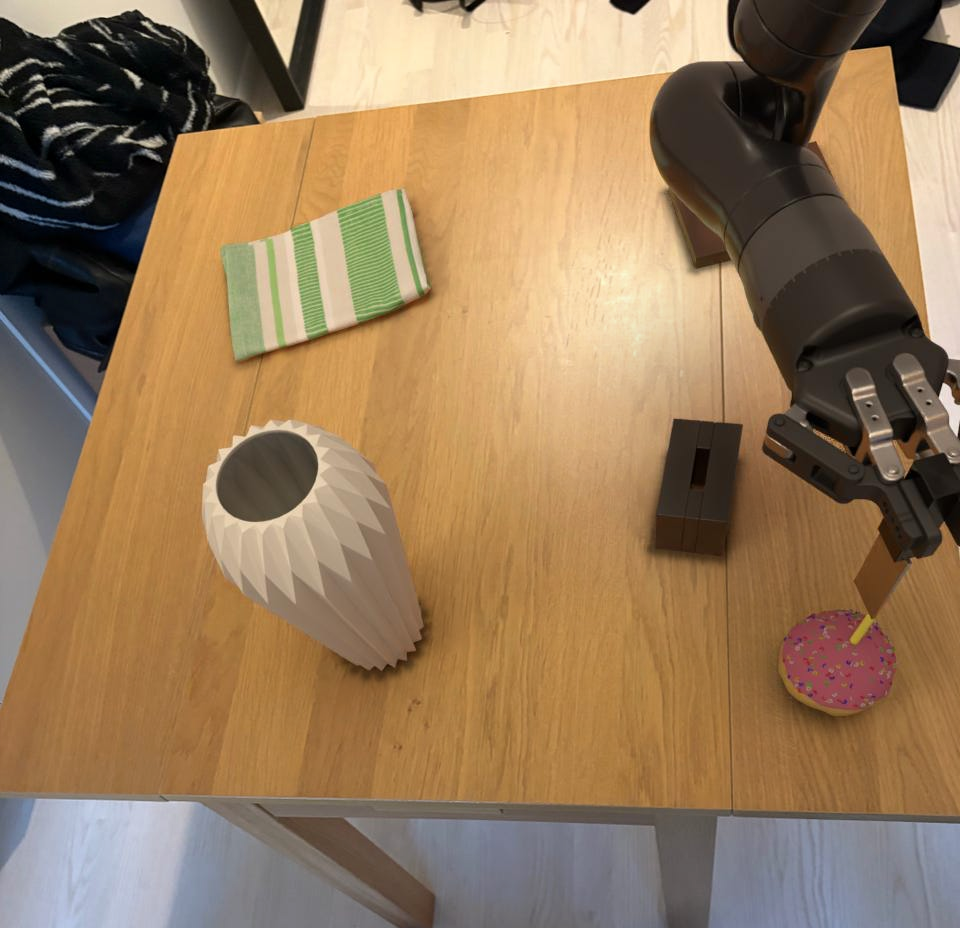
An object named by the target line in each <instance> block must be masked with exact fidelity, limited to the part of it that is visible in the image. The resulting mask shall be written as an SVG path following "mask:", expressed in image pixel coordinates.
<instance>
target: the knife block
mask: <svg viewBox="0 0 960 928" xmlns="http://www.w3.org/2000/svg"><path fill="white" fill-rule="evenodd" d="M743 428H744V424H743V423H734V422H722V421H710V420H698V419H689V418H688V419H686V418H673V420H672V425H671V431H670V436H669V441H668V447H667V453H666V458H665V463H664V469H663V475H662V479H661V486H660V492H659V496H658V501H657V506H656V507H657V508H656V514H655V532H654V533H655V536H654V548H655V549H661V550H669V551H677V552H685V553H697V554H702V555H711V556H723V554H724V547H725V544H726V543H725V542H726V536H727V534H728V527H729V522H730V516H731V510H732V509H731V508H732V503H733V495H734V490H735V489H734V488H735V481H736V475H737V469H738V468H737V467H738V462H739V461H738V460H739V453H740V447H741V441H742V434H743ZM693 486H702V487H703V489H695V488H693Z"/></svg>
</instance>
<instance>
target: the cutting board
mask: <svg viewBox="0 0 960 928" xmlns="http://www.w3.org/2000/svg"><path fill="white" fill-rule="evenodd" d="M807 149H809V150H810V151H812V152H813V153H815V154H816V155H817V156H818V157H819V158H820V160H821V161H822V162H823V164H824V165H825V167H826V168H827V170H828V171H829V173H830V174H831V176H832V177H833V179H834V181H835V183H836V180H835V178H834V176H833V173H832V172H831V170H830V167H829V165H828V163H827V161H826V159H825V157H824V155H823V152H822V149H821V148H820V146H819V144H818V141H816V140H815V141H811V142H809V144H808V146H807ZM836 184H837V183H836ZM667 192H668V195H669V198H670V201H671V203H672V206H673V208H674V212H675V215H676V217H677V221H678V223H679V226H680V230H681V233H682V234H683V237H684V240H685V243H686V246H687V249H688V252H689V255H690V258H691V260H692V263H693V266H694V268H695V269H699V268H704V267H708V266H711V265H715V264H719V263H723V262H727V261H732V260H731V258H730V256H729V254H728V252H727V250H726V247H725V245H724V243H723V240H722V239H721V237H720V236H718V235H717V234H716V233H715V232H714V231H712V230H711V229H710V228H709V227H707V226H706V225H705V224H704V223H703V222H702V221H701V220H700V219H699V218H698V217H697V216H696V215H695V214H694V213H693V212H692V211H691V210H690V209H689V208H688V207H687V206H686V205H685V204H684V203H683V202H682V201H681V200H680V199H679V198H678V197H677V196H676V195H675V194H674V193H673V191H672V190H671V189H670V188H669V187H668V190H667Z"/></svg>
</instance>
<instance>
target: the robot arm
mask: <svg viewBox="0 0 960 928" xmlns="http://www.w3.org/2000/svg"><path fill="white" fill-rule="evenodd" d="M886 1H887V0H739V2H738V4H737V7H736V11H735V13H734V14H735V15H734V20H733V36H734V42H735V46H736V49H737V52H738V54H739V55H740V57H741V59H742V61H741V60H740V61H739V60H738V61H737V60H736V61H735V60H733V61H732V60H730V61H729V60H707V61H705V60H704V61H703V60H701V61H695V62H691V63H688V64H685V65H683V66H681V67H679V68H678V69H676V70H675V71H673V73H671V74H670V75H669V76H668V77H667V78H666V79H665V80H664V82H663V84H662V85H661V86H660V88H659V90H658V92H656V93H657V94H656V95H655V98H654V101H653V103H652V108H651V111H650V116H649V127H648V128H649V131H648V133H649V136H648V137H649V144H650V151H651V155H652V158H653V160H654V163H655V166H656V169H657V171H658V172H659V175H660V177H661V178H662V179H663V181H664V182H665V184H666V185H667V187H668V188H670V189H671V190H672V191H673V193H674V194H675V195H676V196H677V197H678V198H679V199H680V200H681V201H682V202H683V203H684V204H685V205H686V206H687V207H688V208H689V209H690V210H691V211H692V212H693V213H694V214H695V215H696V216H697V217H698V218H699V219H700V220H701V221H702V222H703V223H704V224H705V225H706V226H707V227H709V228H710V229H711V230H712V231H714V232H715V233H716V234H717V235H718V236H720V237H721V239H722V240H723V243H724V245H725V247H726V250H727V252H728V254H729V256H730V258H731V260H730V261H731V262H732V264H733V267H734V268H735V271H736V273H737V275H738V277H739V278H740V281H741V283H742V287H743V291H744V295H745V298H746V301H747V304H748V307H749V310H750V312H751V314H752V318H753V322H754V324H755V327H756V328H757V329H758V331H760V332H761V335H762V338H763V339H764V342H765V343H766V345H767V348H768V349H769V351H770V354H771V356H772V357H773V360H774V362H775V364H776V366H777V368H778V370H779V372H780V375H781V376H782V379H783V380H784V381H783V382H784V383H785V385H786V387H787V389H788V390H789V391H790V395H791V397H790V398H791V399H790V402H789V409H787V410H786V411H785V413H774V414H772V415H771V416H769V418H768V420H767V424H766V430H765V433H764V437H763V441H762V447H761V451H762V453H763V454H764V455H765V456H766V457H768V458H770V459H771V460H773V461H774V462H776V463H777V464H779V465H780V466H782V467H783V468H785V469H786V470H788V471H789V472H791V473H792V474H793V475H795V476H797V477H798V478H799V479H801V480H803V481H804V482H806V483H807V484H808V485H810V486H812V488H815V490H817V491H819V492H820V493H822V494H824V495H825V496H827V497H828V498H830V499H831V500H833V502H835V503H838V504H841V505H848V504H850V503H852V502H853V501H854V500H864V501H865V500H866V501H869V502H872V503H874V504H875V505H876V506H877V507H878V509H879V512H880V513H881V515H882V518H883V517H884V519H885V521H886V523H887V525H888V527H889V528H890V531H891V533H892V535H893V537H894V539H895V541H896V543H897V545H898V546H899V547H901V548H902V549H903V550H904V551H905V552H906V551H909V550H911V551H912V553H913V555H914V556H915V557H914V558H915V559H916V560H920V559H925V558H927V557H931V556H933V555H934V554H935V553H936V551H937V550H938V549H939V547H940V546H941V544H942V542H943V534H942V530H941V528H939V527H938V525H937V523H936V521H935V519H934V517H933V515H932V513H931V511H930V510H929V508H928V507H927V505H926V504H925V502H924V500H923V498H922V496H921V494H920V492H919V490H918V488H917V487H916V485H915V483H914V481H913V479H908V480H905V476H906V468H905V466H904V463H903V461H902V459H901V457H900V455H899V452H898V450H897V447H896V445H895V443H894V441H896V443H897V445H898V446H899V448H900V451H902V454H903V455H904V456H905V458H907V460H912V461H915V460H919V459H922V458H926V457H929V456H933V455H936V454H940V453H945V454H946V456H947V458H948V460H949V462H950V463H951V465H952V467H953V469H954V471H955V472H956V474H957V476H958V478H959V480H960V421H959V422H958V427H957V430H958V431H957V435H956V433H955V432H954V430H953V429H952V427H951V426H950V415H949V412H948V410H947V409H946V407H945V405H944V404H943V402H942V401H941V399H940V395H941V393H942V389H943V385H944V384H945V385H947V387H949V389H950V392H951V397H952V398H953V403H954V405H957V406H960V359H954V358H949V355H948V352H947V351H946V349H945V348H944V347H942V346H941V345H939V344H938V343H936V342H934V341H932V340H931V339H930V338H929V336H927V335H926V333H925V330H924V328H923V324H922V321H921V317H920V315H919V312H918V310H917V308H916V306H915V305H914V303H913V301H912V300H911V298H910V296H909V294H908V292H907V291H906V289H905V287H904V286H903V284H902V282H901V281H900V280H899V278H898V276H897V274H896V273H895V271H894V269H893V268H892V265H891V264H890V262H889V261H888V259H887V257H886V255H885V254H884V252H883V251H882V249H881V247H880V245H879V243H878V242H877V240H876V239H875V237H874V235H873V234H872V232H871V231H870V228H869V227H867V225H866V224H865V223H864V222H863V220H862V219H861V218H860V217H859V216H858V215H857V213H856V212H854V210H853V209H852V208H851V206H850V205H849V203H848V201H847V200H846V198H845V196H844V194H843V192H842V191H841V189H840V187H839V186H838V184H837V183H835V182H836V180H835V178H834V176H833V175H832V176H833V177H832V176H831V174H832V173H831V174H830V173H829V171H828V170H827V168H826V167H825V165H824V164H823V162H822V161H821V160H820V158H819V157H818V156H817V155H816V154H815V153H813V152H812V151H810V150H809V149H807V146H808V144H809V143H810V141H811V140H812V137H813V135H814V132H815V129H816V127H817V124H818V122H819V119H820V116H821V114H822V111H823V108H824V107H825V104H826V102H827V99H828V97H829V95H830V93H831V90H832V88H833V85H834V84H835V81H836V79H837V75H838V73H839V71H840V68H841V66H842V65H843V61H844V60H845V57H846V55H847V54H848V52H849V51H850V50H851V49H852V47H853V46H854V45H855V44H856V42H857V41H858V40H859V38H860V37H861V35H862V34H863V33H864V31H865V30H866V29H867V27H868V26H869V25H870V24H871V22H872V21H873V20H874V18H875V17H876V16H877V14H878V12H879V11H880V10H881V8H882V7H883V6H884V4H885V3H886ZM833 178H834V179H833ZM834 180H835V181H834ZM814 430H815V431H816V432H818V433H821V434H823V435H824V436H826V437H828V438H830V439H832V440H833V441H836V442H838V443H839V444H841V445H842V447H843V449H844V451H843V450H842V449H840V448H839V447H837V446H835V445H834V444H832V443H831V442H829V441H828V440H827V439H825V438H823V437H821V436H820V435H818V434H817V433H815V432H814ZM943 523H944V524H945V525H946V527H947V529H948V532H949V534H950V535H951V537H952V539H953V540H954V542H955V544H956V546H958V547H959V548H960V498H959V500H958V501H957V503H956V504H955V506H954V507H953V509H952V510H951V512H950V513H949V515H948V516H947V518H946V519H945V521H944V522H943Z"/></svg>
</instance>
